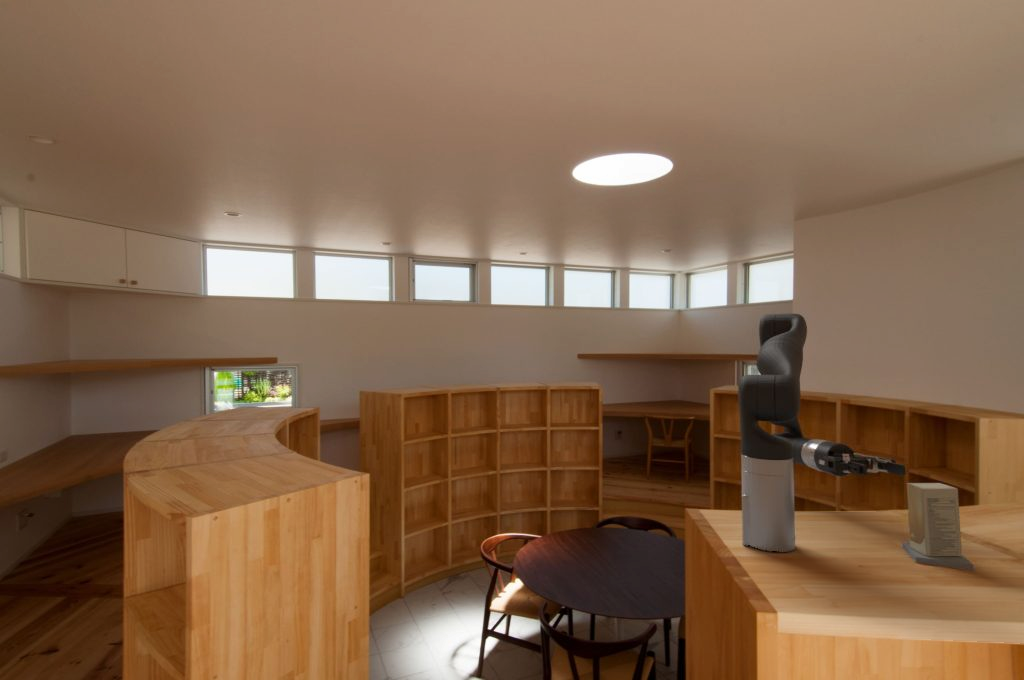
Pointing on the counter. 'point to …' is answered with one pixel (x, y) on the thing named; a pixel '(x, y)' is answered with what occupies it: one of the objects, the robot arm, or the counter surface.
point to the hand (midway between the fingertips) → (884, 470)
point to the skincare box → (934, 519)
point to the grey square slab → (939, 559)
